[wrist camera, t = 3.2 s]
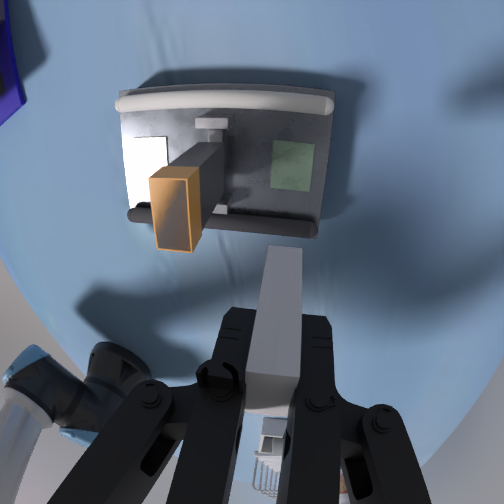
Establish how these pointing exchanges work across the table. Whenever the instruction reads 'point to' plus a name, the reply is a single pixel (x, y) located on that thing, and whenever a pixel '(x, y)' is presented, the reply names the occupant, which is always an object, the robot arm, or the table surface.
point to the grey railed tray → (232, 100)
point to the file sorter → (273, 464)
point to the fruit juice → (343, 490)
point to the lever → (187, 194)
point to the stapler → (8, 69)
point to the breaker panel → (236, 151)
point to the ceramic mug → (277, 446)
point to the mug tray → (270, 433)
